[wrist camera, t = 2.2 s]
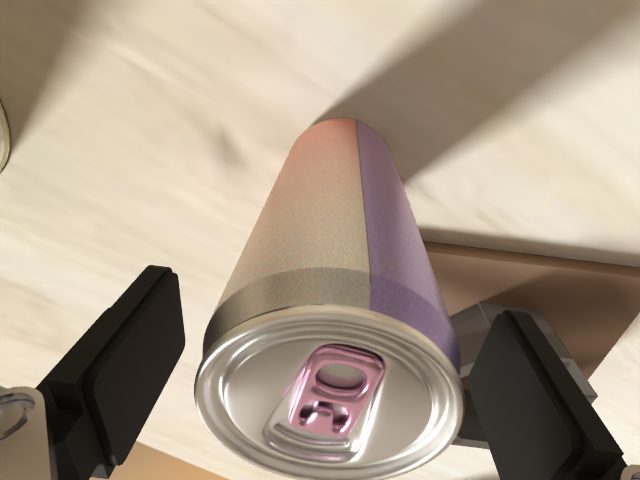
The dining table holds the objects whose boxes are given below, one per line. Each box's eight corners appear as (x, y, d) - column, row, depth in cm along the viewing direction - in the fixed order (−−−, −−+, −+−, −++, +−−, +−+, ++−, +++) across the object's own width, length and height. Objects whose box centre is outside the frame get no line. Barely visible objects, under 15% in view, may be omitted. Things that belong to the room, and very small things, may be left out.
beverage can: (409, 133, 19) (541, 357, 6) (372, 226, 22) (406, 507, 9) (301, 101, 18) (194, 269, 6) (278, 201, 21) (175, 459, 9)
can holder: (394, 237, 22) (406, 290, 18) (648, 269, 22) (724, 329, 18) (355, 395, 30) (357, 458, 26) (540, 419, 30) (573, 486, 26)
